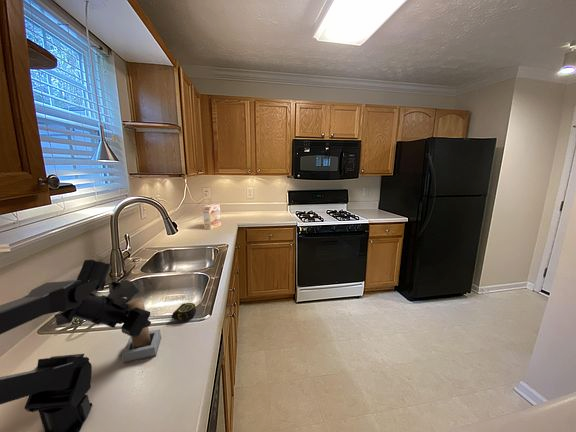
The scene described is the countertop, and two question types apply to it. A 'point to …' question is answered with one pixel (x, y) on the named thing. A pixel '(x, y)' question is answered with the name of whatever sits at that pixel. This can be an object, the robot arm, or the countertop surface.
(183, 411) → the countertop surface
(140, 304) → the peg
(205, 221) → the coffeecake box
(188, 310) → the tape measure
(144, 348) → the pocket block
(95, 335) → the countertop surface
